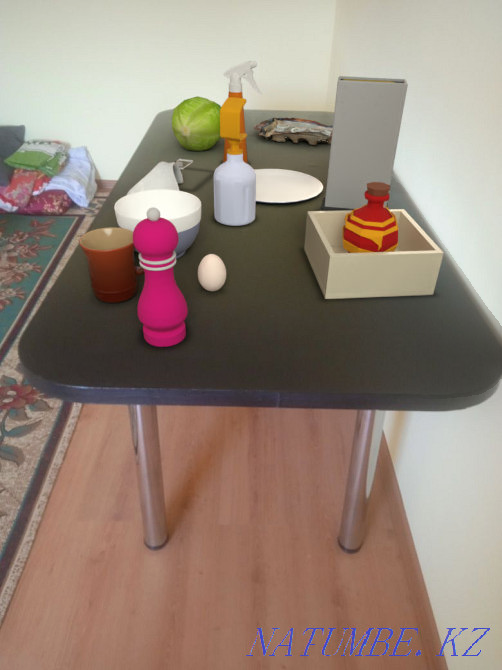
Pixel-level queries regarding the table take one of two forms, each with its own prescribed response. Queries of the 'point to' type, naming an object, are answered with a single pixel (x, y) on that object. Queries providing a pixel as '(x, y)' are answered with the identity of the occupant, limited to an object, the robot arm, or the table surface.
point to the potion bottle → (371, 223)
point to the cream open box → (371, 260)
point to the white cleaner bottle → (234, 172)
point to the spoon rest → (160, 178)
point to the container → (363, 138)
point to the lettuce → (197, 123)
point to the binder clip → (182, 163)
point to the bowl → (162, 213)
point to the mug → (111, 263)
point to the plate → (285, 186)
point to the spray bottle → (236, 92)
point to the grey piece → (295, 130)
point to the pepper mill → (159, 281)
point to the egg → (211, 273)
